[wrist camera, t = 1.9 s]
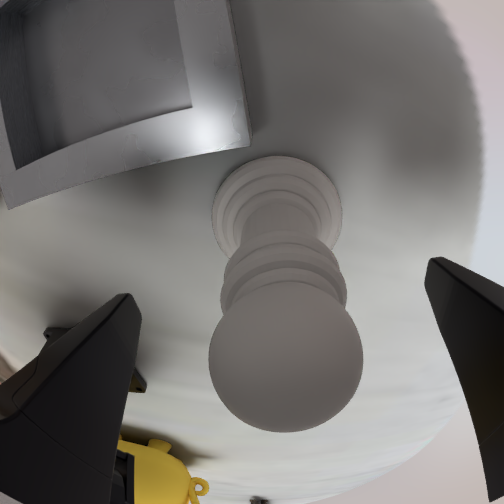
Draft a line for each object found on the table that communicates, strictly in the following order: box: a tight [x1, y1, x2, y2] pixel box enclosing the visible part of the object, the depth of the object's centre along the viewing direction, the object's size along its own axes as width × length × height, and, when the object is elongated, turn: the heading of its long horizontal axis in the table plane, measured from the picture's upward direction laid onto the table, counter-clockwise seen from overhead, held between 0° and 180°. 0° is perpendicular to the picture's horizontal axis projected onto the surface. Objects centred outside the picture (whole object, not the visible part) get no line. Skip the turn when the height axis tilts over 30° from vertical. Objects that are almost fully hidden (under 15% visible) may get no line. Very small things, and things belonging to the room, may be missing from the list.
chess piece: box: [209, 156, 363, 432], centre depth 8 cm, size 5×5×9 cm
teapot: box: [117, 435, 209, 504], centre depth 22 cm, size 14×20×13 cm
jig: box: [0, 0, 253, 210], centre depth 7 cm, size 11×11×2 cm
